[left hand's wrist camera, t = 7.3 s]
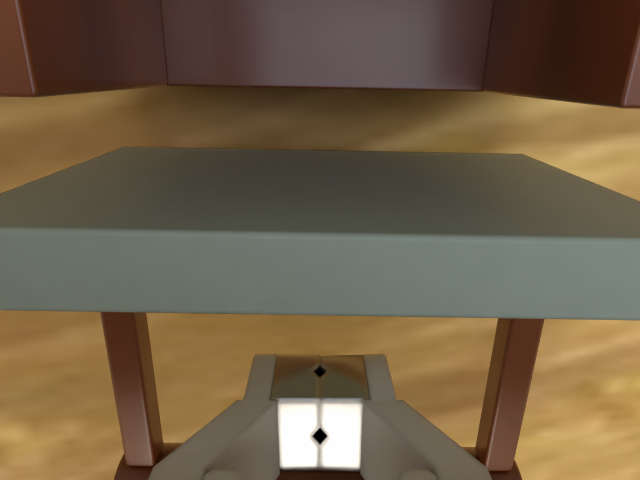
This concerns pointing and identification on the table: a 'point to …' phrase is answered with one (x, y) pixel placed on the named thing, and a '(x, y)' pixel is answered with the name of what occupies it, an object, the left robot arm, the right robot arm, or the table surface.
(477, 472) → the left robot arm
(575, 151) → the table surface
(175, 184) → the drawer
